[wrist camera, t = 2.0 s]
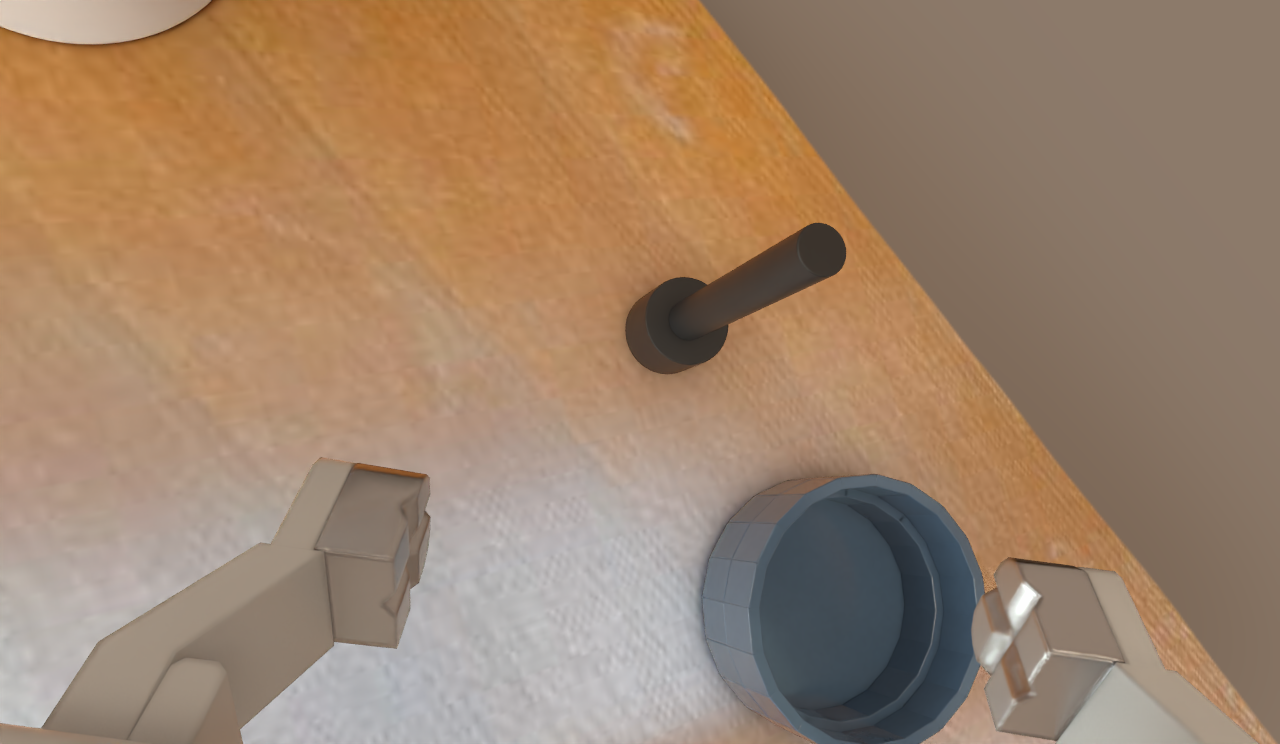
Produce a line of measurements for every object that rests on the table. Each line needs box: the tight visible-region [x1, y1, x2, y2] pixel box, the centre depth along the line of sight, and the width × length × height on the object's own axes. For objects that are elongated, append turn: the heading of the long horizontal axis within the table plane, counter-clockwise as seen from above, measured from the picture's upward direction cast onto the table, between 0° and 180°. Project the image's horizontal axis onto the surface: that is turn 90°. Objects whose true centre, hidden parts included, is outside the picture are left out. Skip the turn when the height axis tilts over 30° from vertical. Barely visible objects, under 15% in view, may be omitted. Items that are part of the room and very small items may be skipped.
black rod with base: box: [626, 223, 846, 374], centre depth 40 cm, size 4×4×16 cm
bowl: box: [702, 474, 985, 744], centre depth 45 cm, size 13×13×6 cm
